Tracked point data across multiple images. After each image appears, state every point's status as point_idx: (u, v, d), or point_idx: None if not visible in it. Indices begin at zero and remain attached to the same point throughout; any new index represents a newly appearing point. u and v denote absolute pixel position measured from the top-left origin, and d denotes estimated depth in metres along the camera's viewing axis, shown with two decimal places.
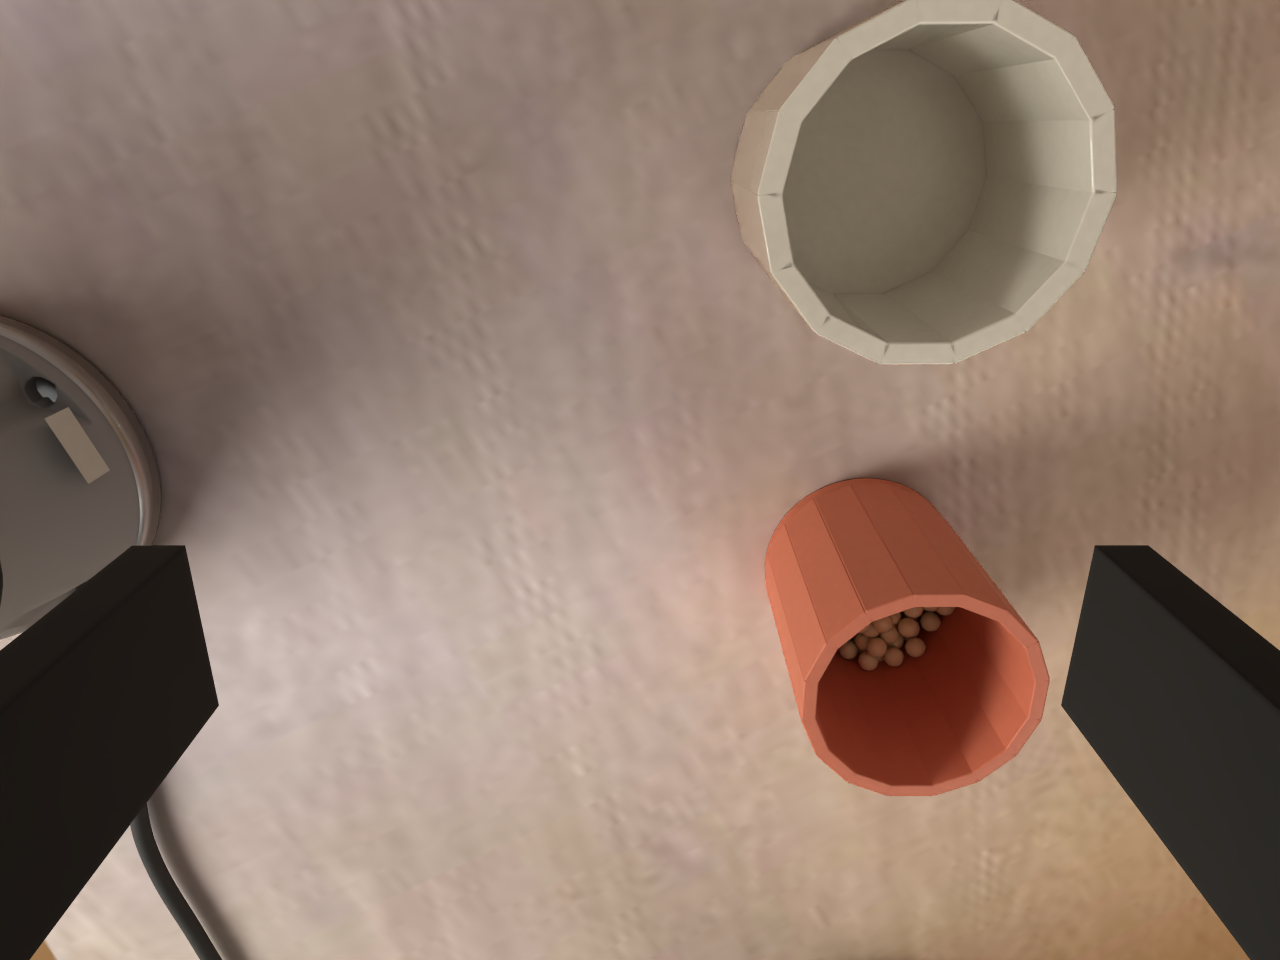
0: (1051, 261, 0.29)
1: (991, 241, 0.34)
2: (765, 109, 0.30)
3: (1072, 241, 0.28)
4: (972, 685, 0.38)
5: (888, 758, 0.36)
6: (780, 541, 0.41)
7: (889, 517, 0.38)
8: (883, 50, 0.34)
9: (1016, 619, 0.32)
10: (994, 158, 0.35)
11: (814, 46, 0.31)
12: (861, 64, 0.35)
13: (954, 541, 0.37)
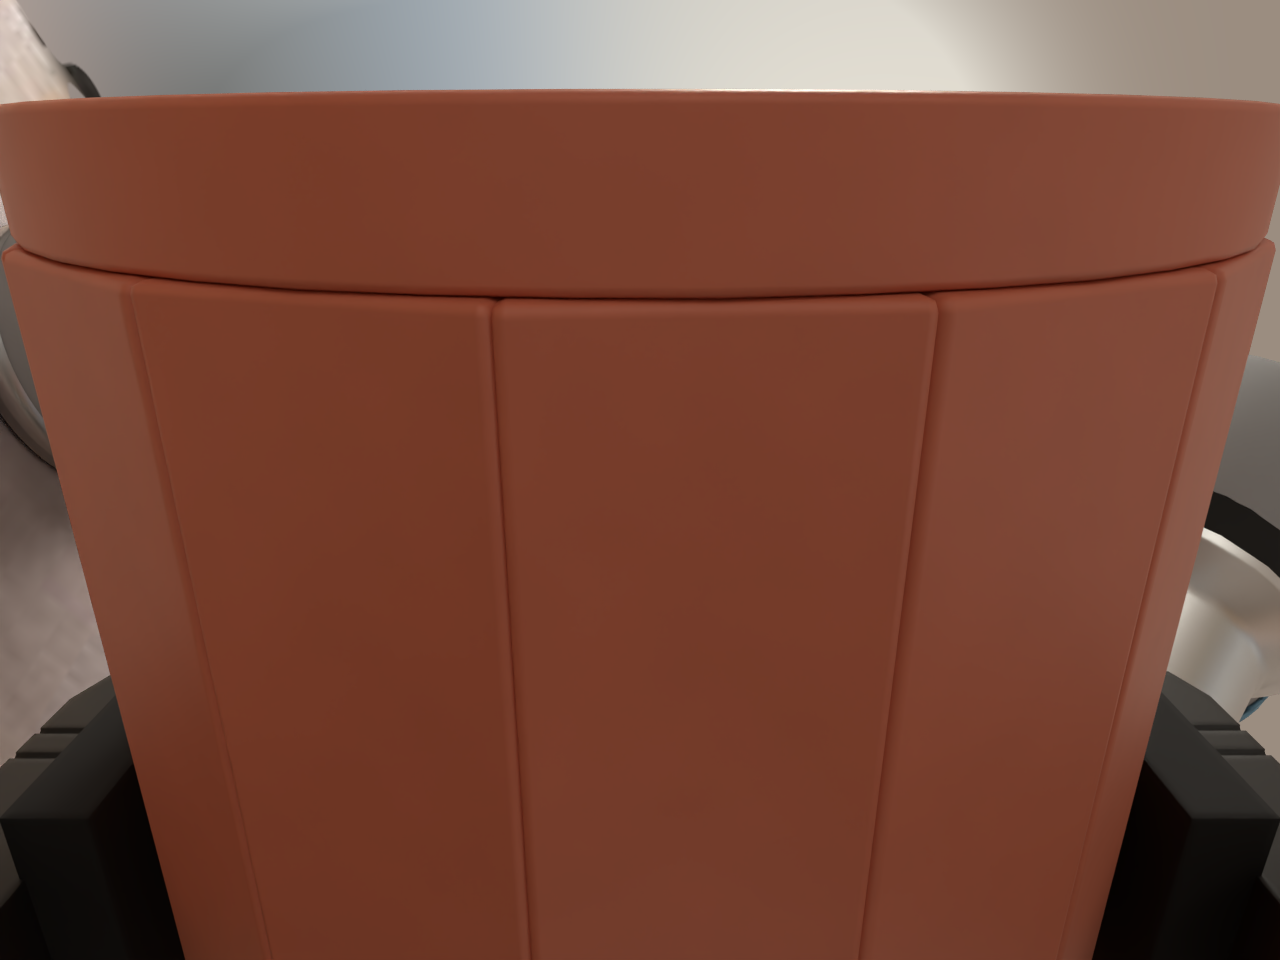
0: None
1: None
2: None
3: None
4: None
5: None
6: None
7: None
8: None
9: None
10: None
11: None
12: None
13: None
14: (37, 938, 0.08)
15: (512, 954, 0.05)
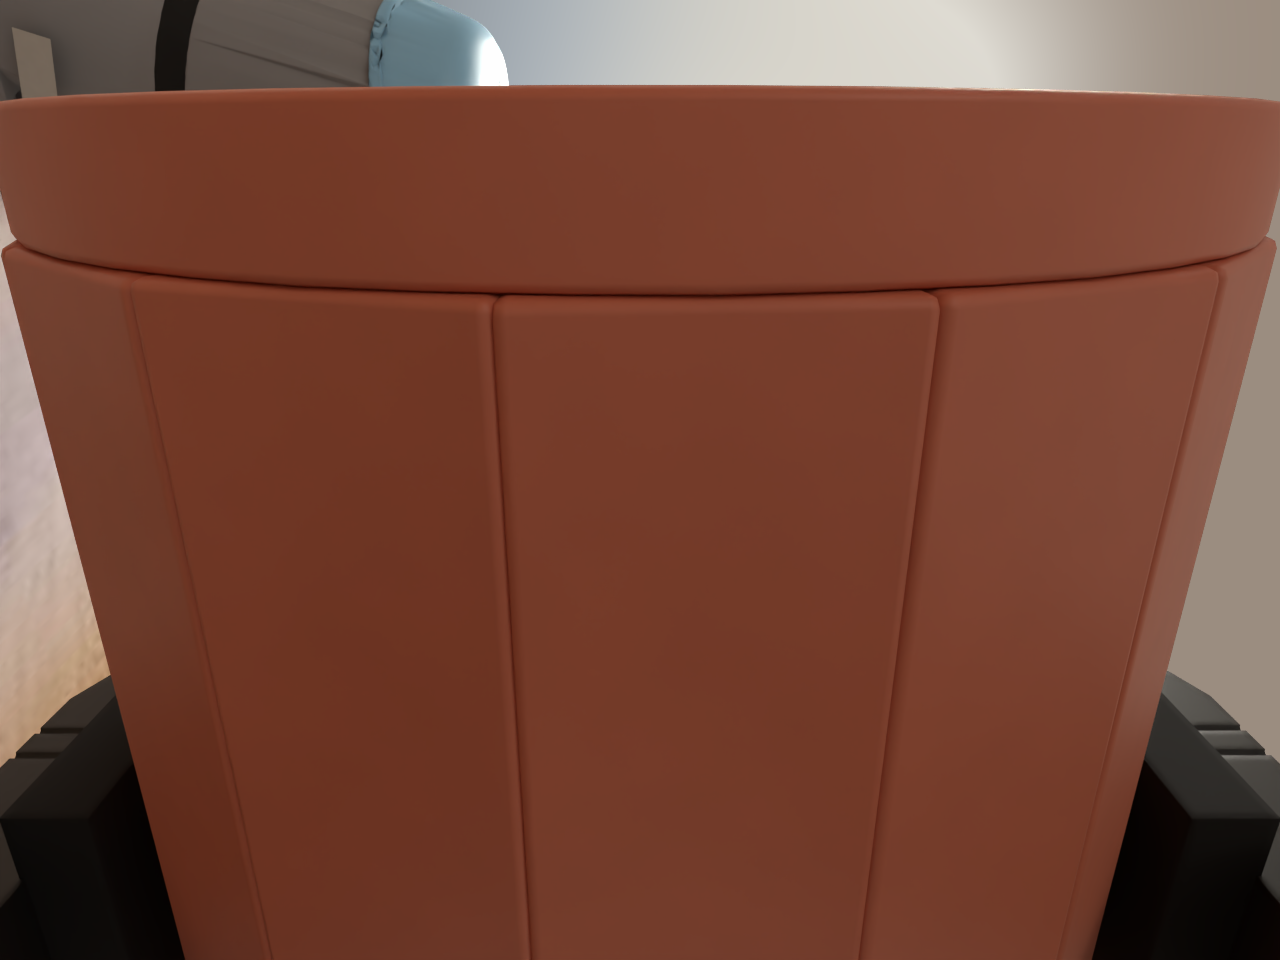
0: None
1: None
2: None
3: None
4: None
5: None
6: None
7: None
8: None
9: None
10: None
11: None
12: None
13: None
14: (37, 938, 0.08)
15: (512, 952, 0.05)
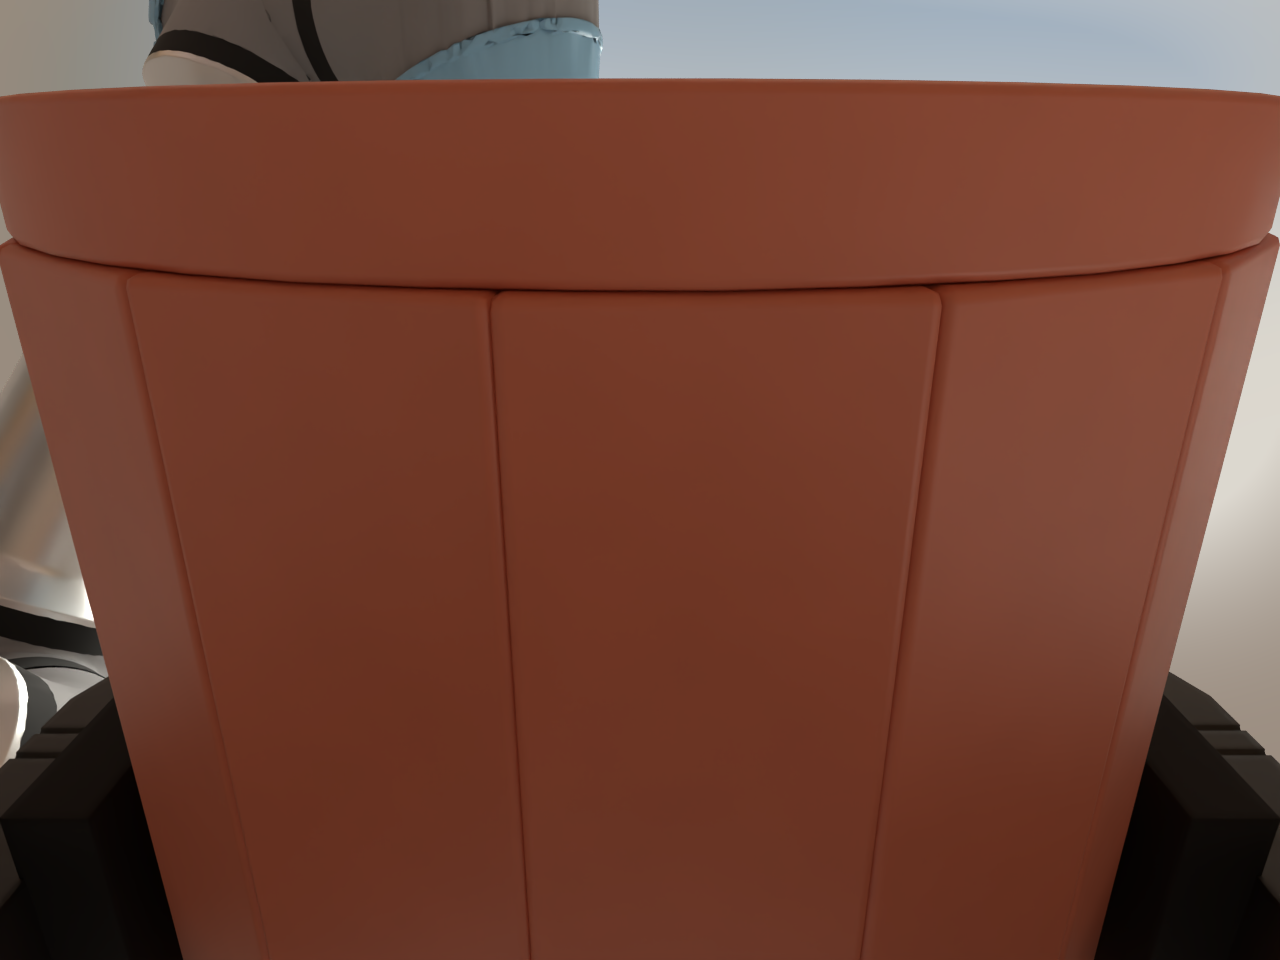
0: None
1: None
2: None
3: None
4: None
5: None
6: None
7: None
8: None
9: None
10: None
11: None
12: None
13: None
14: (37, 938, 0.08)
15: (512, 954, 0.05)
